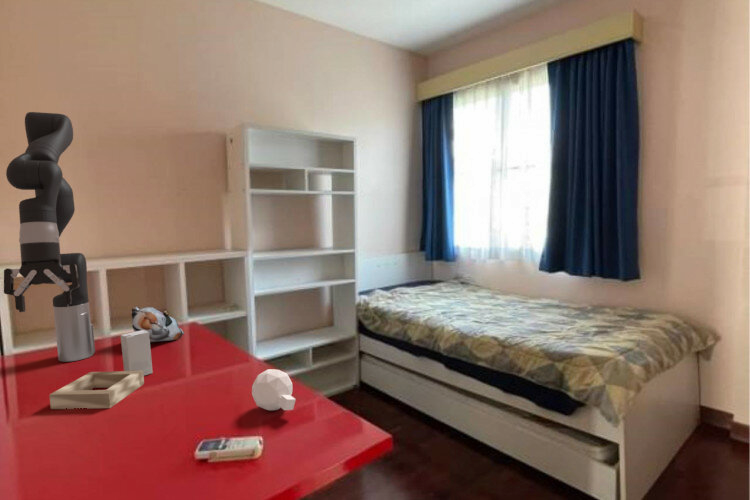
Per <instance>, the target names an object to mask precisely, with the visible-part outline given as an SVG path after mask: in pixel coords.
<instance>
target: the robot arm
mask: <svg viewBox="0 0 750 500" xmlns="http://www.w3.org/2000/svg"><path fill="white" fill-rule="evenodd" d="M24 128H25V134H26V139H27V144H28V145H27V147H26V149H25V152H23V153H22V154H20V155H18V156H16V157H14V158H12V160H11V161H10V162H9V164H8V166H6V167H7V168H6V171H5V174H6V175H5V177H6V180H7V182H8V183H9V185H11V186H12V187H14V188H16V189H17V190H21V191H26V190H27V191H30V190H31V191H33V190H34V197H29V198H25V199H23V200H21V201H20V202H19V204H18V209H19V210H18V211H19V234H18V235H19V238H18V241H19V248H20V249H19V250H20V263H21V265H20V267H19V268H5V269H4V270H3V293H4V294H5V295H8V296H9V295H10V296H13V297H14V302H15V303H14V304H15V305H14V306H15V309H16V311H19V313H25V312H26V302H25V300H26V299H25V295H24V294H25V292H26V291H27V290H28V289H29V288H30V287H31V286H32V285H34V286H36V285H42V284H46V285H47V284H48V285H57V286H59V288H60V289H61V290H63V292H62V293H60V294H57V295H55V296H53V297H52V306H53V307H52V309H53V316H54V317H53V318H54V328H55V329H54V330H55V339H56V346H57V358H58V361H59V362H64V363H65V362H75V361H81V360H84V359H88V358H90V357H92V356H93V355H94V353H96V346H95V336H94V325H93V323H92V322H91V312H90V310H91V309H90V299H89V289H88V270H87V269H88V267H87V260H86V257H85V255H84V254H83V253H82V252H71V253H61V247H60V237H61V236H62V233H63V232H64V230H65V229H66V228H67V226H68V224H69V223H70V221H71V220H72V218H73V216H74V214H75V209H76V208H75V201H74V192H73V188H72V187H71V185H70V184H69V183H68V181H67V180H66V179H65V177H63V170H62V168H61V166H59V164H58V163H59V160H60V157H61V155H62V154H64V152H65V151H66V150H67V149H68V148H69V146H71V144H72V142H73V139H74V129H73V123H72V120H71V119H70V117H68V116H67V115H65V114H62V113H56V112H55V113H54V112H53V113H52V112H39V111H38V112H37V111H30V112H29V111H28V112H27V113H25V117H24ZM18 274H20V275H21V276H22V277H23V278H24V279H23V280H22V281H21V283H20V284H19V286H18V287H17V288H16V289H14V279H16V278H17V277H18ZM68 283H69V284H68Z"/></svg>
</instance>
